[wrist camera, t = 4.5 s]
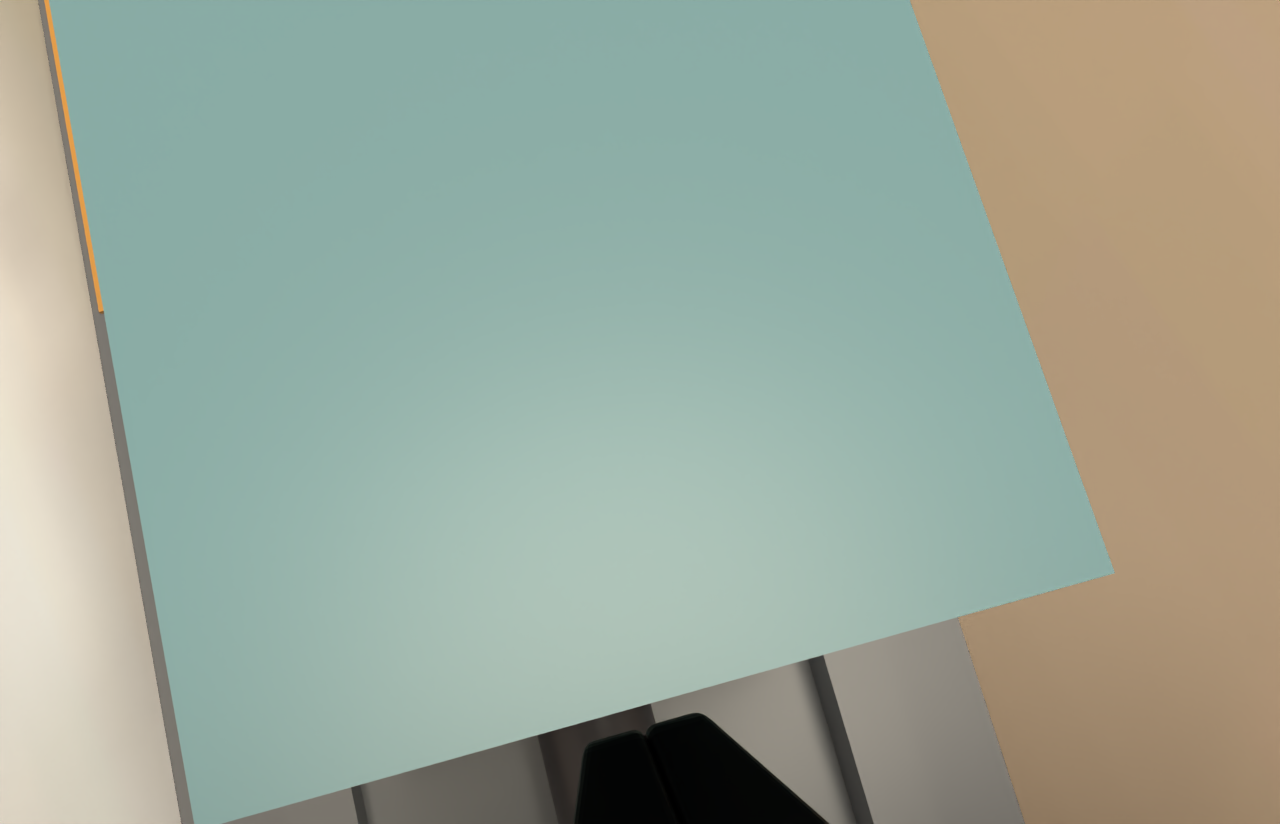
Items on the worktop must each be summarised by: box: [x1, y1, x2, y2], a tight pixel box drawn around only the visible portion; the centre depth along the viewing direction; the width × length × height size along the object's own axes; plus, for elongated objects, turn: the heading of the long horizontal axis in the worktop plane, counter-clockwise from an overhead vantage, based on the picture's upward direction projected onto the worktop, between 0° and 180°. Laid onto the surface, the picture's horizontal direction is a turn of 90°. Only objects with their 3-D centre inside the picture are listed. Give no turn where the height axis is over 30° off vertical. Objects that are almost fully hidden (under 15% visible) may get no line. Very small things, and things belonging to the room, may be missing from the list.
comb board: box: [38, 0, 1025, 824], centre depth 14 cm, size 26×10×6 cm, turn 15°
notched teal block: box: [49, 0, 1115, 824], centre depth 11 cm, size 6×5×9 cm
